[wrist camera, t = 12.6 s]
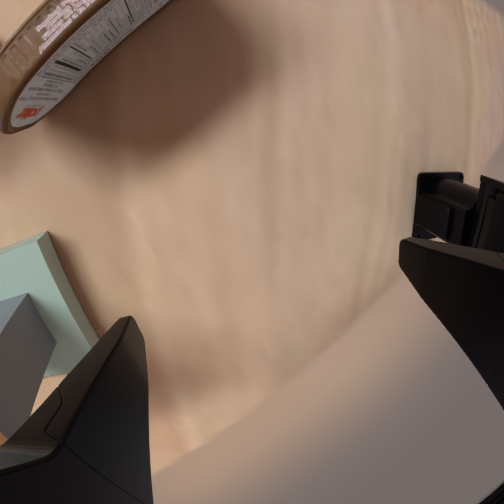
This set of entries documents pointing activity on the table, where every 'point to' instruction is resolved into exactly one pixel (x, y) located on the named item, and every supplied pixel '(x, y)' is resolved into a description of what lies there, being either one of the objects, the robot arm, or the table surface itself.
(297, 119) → the table surface
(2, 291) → the stand
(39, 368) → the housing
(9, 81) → the tin
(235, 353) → the table surface
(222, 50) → the table surface
